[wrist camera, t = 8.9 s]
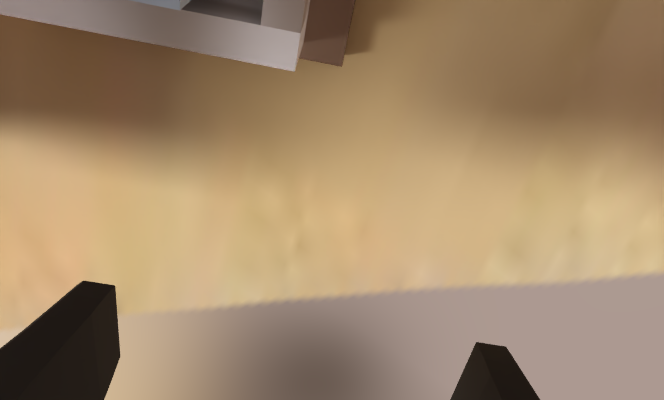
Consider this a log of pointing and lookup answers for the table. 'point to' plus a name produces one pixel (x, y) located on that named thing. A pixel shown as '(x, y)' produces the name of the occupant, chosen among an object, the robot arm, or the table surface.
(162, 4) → the slat
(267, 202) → the table surface
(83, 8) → the frame
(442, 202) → the table surface
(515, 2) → the table surface
